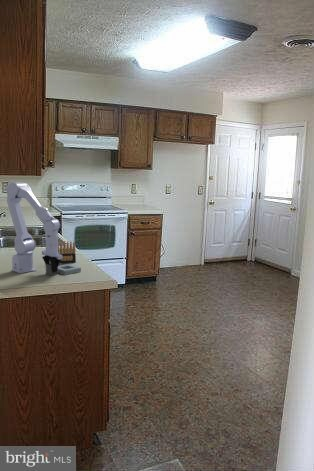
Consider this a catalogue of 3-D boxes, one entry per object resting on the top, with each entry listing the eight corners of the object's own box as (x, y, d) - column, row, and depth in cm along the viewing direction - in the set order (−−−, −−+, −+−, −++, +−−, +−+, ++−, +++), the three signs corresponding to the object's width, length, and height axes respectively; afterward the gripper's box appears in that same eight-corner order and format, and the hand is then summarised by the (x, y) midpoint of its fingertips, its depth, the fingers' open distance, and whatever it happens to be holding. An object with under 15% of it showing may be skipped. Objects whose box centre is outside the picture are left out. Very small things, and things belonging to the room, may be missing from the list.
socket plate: (64, 274, 202) (64, 270, 202) (52, 270, 209) (52, 266, 208) (80, 271, 210) (81, 267, 209) (69, 267, 216) (69, 264, 216)
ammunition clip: (75, 261, 231) (75, 240, 229) (75, 262, 229) (76, 241, 227) (55, 262, 226) (55, 241, 224) (56, 263, 225) (56, 241, 223)
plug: (50, 275, 200) (50, 261, 198) (45, 273, 202) (45, 260, 201) (57, 274, 203) (57, 260, 201) (52, 272, 205) (52, 258, 204)
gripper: (36, 242, 202) (36, 269, 204) (53, 247, 192) (53, 275, 194) (48, 241, 207) (48, 267, 209) (66, 245, 198) (65, 273, 200)
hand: (51, 271), depth 202 cm, fingers closed on plug, 4 cm apart
